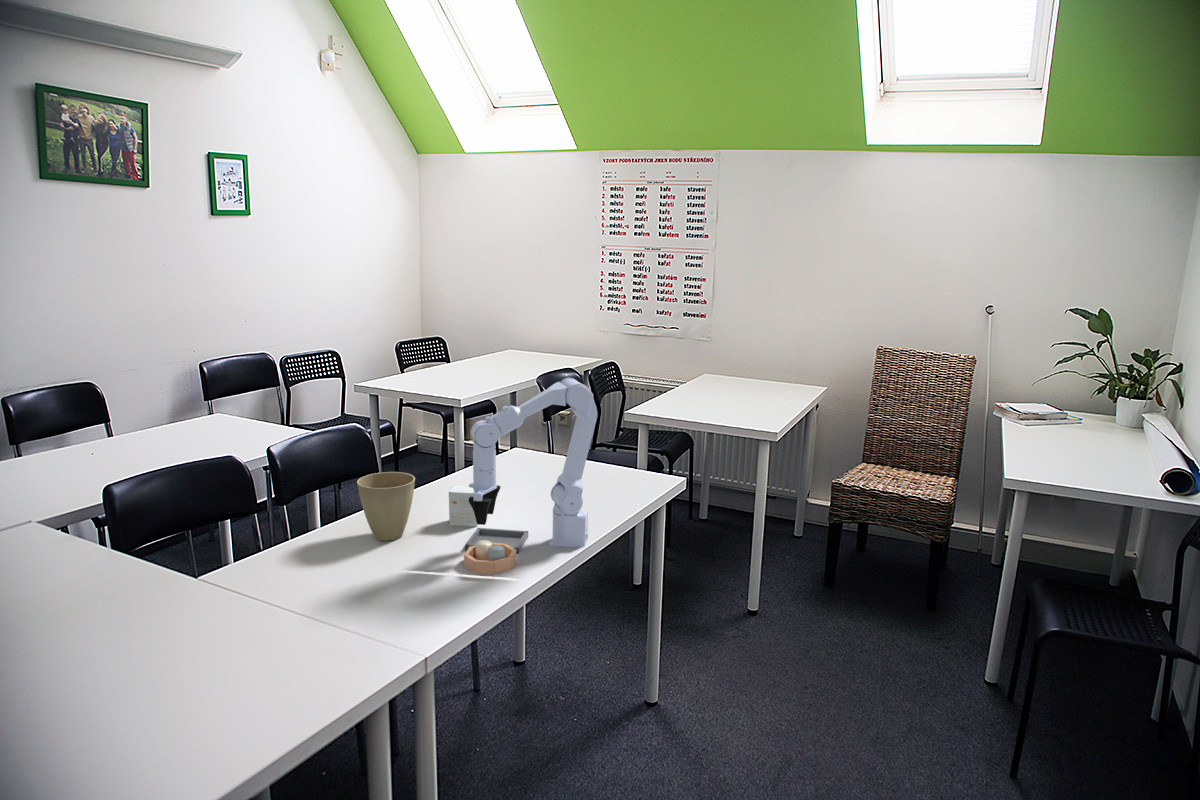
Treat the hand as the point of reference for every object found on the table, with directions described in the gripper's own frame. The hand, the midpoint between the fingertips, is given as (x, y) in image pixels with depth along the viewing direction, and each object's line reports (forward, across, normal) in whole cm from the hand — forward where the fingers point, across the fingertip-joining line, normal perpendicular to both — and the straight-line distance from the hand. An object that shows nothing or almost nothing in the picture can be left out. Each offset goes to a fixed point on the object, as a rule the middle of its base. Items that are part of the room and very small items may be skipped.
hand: (485, 518), depth 200 cm
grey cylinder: (+8, +10, +5) cm, 14 cm away
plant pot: (+9, -6, -28) cm, 30 cm away
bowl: (+9, +8, +3) cm, 13 cm away
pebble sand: (+8, +7, +1) cm, 11 cm away
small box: (+9, -18, -10) cm, 22 cm away
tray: (+9, -4, +2) cm, 10 cm away
